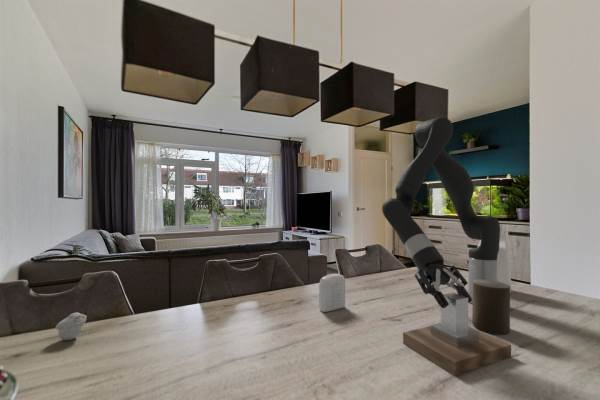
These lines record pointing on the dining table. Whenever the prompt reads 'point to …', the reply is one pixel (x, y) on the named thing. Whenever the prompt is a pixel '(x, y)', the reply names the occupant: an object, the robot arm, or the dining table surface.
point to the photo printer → (331, 292)
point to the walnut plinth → (457, 350)
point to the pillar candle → (491, 306)
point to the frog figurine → (71, 326)
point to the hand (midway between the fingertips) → (457, 304)
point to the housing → (455, 323)
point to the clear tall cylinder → (503, 261)
